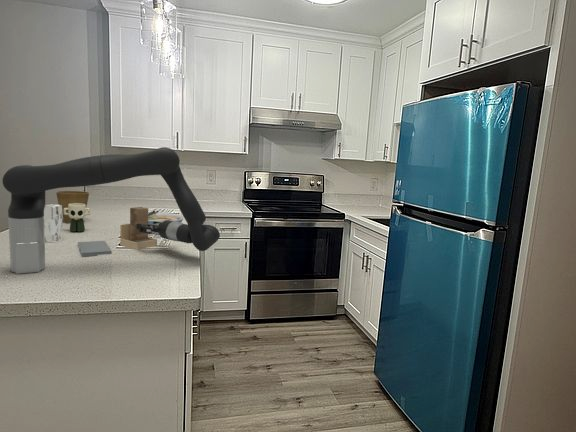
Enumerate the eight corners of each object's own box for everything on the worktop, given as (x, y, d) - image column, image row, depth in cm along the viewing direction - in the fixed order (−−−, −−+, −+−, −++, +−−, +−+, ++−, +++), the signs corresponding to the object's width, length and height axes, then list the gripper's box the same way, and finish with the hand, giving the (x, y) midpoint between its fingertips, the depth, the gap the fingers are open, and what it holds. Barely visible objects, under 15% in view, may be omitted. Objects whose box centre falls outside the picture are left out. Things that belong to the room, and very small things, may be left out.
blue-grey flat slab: (111, 254, 143) (111, 250, 143) (82, 257, 137) (81, 253, 137) (104, 244, 158) (104, 240, 157) (77, 245, 152) (77, 242, 152)
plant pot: (90, 224, 195) (90, 193, 193) (57, 225, 187) (56, 193, 185) (88, 219, 208) (87, 190, 205) (56, 220, 200) (56, 190, 197)
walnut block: (147, 245, 159) (148, 208, 156) (138, 247, 154) (138, 209, 152) (139, 243, 161) (140, 206, 159) (129, 245, 157) (130, 207, 154)
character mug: (63, 233, 172) (62, 205, 170) (65, 230, 178) (64, 203, 176) (89, 232, 176) (89, 205, 174) (90, 229, 183) (90, 203, 181)
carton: (167, 246, 161) (167, 225, 160) (136, 253, 147) (136, 230, 146) (146, 241, 167) (146, 221, 166) (114, 247, 153) (114, 225, 152)
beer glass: (59, 238, 162) (58, 203, 160) (66, 241, 158) (65, 206, 156) (41, 240, 157) (40, 204, 155) (47, 243, 153) (46, 206, 151)
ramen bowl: (176, 237, 180) (176, 220, 178) (128, 234, 179) (128, 217, 178) (189, 227, 204) (189, 213, 203) (147, 224, 204) (147, 210, 203)
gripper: (187, 219, 152) (159, 214, 160) (160, 223, 140) (131, 217, 148) (186, 237, 154) (158, 231, 161) (159, 243, 141) (130, 236, 149)
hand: (145, 224), depth 154 cm, fingers open, 8 cm apart
